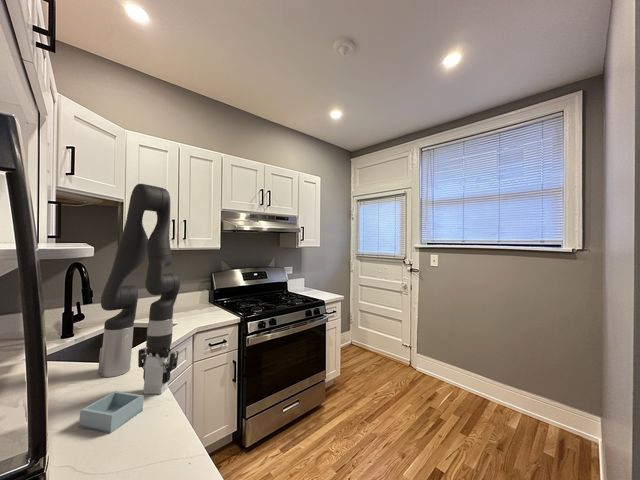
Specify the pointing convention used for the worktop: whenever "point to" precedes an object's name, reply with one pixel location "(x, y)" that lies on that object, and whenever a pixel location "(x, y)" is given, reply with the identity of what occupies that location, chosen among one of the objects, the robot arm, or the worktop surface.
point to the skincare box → (154, 376)
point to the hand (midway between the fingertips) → (156, 381)
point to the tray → (111, 411)
